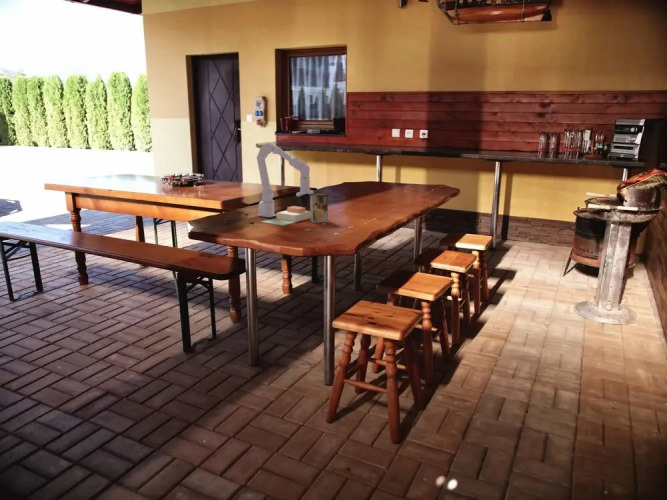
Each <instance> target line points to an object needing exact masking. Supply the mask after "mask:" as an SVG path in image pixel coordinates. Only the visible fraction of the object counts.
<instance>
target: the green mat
mask: <svg viewBox="0 0 667 500" xmlns="http://www.w3.org/2000/svg"><path fill="white" fill-rule="evenodd" d="M261 223H263V224H264V223H265V224H269V225H275V226H280V227H281V226H282V227H283V226H287V225H292V224H296V223H297V222H295V221H288V220H282V219H277V218H272V219H267V220H264V221H263V220H262V221H261Z"/></svg>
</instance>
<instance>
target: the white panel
mask: <svg viewBox="0 0 667 500" xmlns="http://www.w3.org/2000/svg"><path fill="white" fill-rule="evenodd" d="M276 215H277V216H276V219H282V220H288V221H295V222H296V223H298V222H301V221H305V220H310V210H305V212H302V213H294V212H287V210H283V211H278V212H276Z"/></svg>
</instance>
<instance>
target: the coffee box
mask: <svg viewBox="0 0 667 500" xmlns="http://www.w3.org/2000/svg"><path fill="white" fill-rule="evenodd" d="M309 195H310V199H309V207H310V210H309V211H310V219H309V220H310V222H311V223H313V224H315V223H316V224H317V223H328V222H329V219H328V215H329V213H328V210H329V209H328V208H329V207H328V203H329V202H328V201H329V200H328V194H326V193H314V194H309Z"/></svg>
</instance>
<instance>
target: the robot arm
mask: <svg viewBox="0 0 667 500" xmlns="http://www.w3.org/2000/svg"><path fill="white" fill-rule="evenodd" d="M271 153H272V154H273V155H278V156H280V157H281V158H283V159H284V160H286V161H287V162H288V165H289V166H291V167H292V168H294V169H295V170H297V171H299V172H300V177H299V178H300V179H299V185H300V187H299V192H296V193H295V194H296V197H299V198H300V200H301V203H302V207H304V208H307V207H308V204H309V202H310V194H315V192H314V190H312V189H311V186H310V185H311V184H310V182H311V181H310V179H311V178H310V177H311V176H310V171H311V170H310V169H311V168H310V166H309V164H307V163H306V162H305V161H302V160H301V159H299V157H298V156H291V155H290V154H288V153H287V152H285V151H284V150H283V149H281V148H280V147H278V146H277V145H275V144H273V143H271V142H269V141H268V142H265V143H263V145H262V146H261V147H260V149H259V151H258V154H257V155H256V161H257V162H256V163H257V166H258V170H259V171H258V172H259V176H260V181H261V185H262V186H261V187H262V191H261V192H262V195H261V198H262V200H261V201H260V202H259V203H258V206H257V207H258V215H257V216H258V217H265V218H273V217H277V214H275V200H274V199H273V198H274V195H275V193H274V192H273V190H272V187H271V183H270V178H269V174H268V173H269V172H268V168H267V162H266V159H267V158H268V156H269V155H270V154H271Z"/></svg>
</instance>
